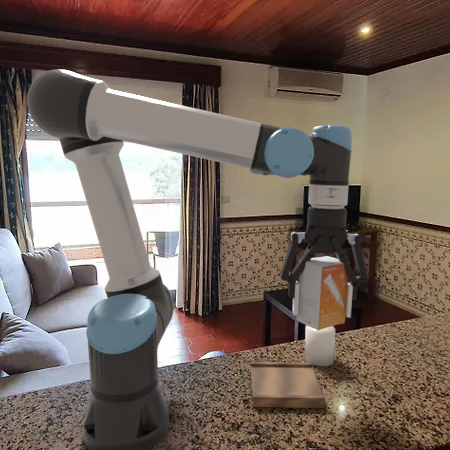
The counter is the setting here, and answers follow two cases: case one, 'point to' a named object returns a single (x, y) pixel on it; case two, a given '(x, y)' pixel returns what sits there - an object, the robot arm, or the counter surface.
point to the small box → (322, 293)
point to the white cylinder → (320, 346)
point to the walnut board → (285, 385)
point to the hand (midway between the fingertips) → (320, 314)
